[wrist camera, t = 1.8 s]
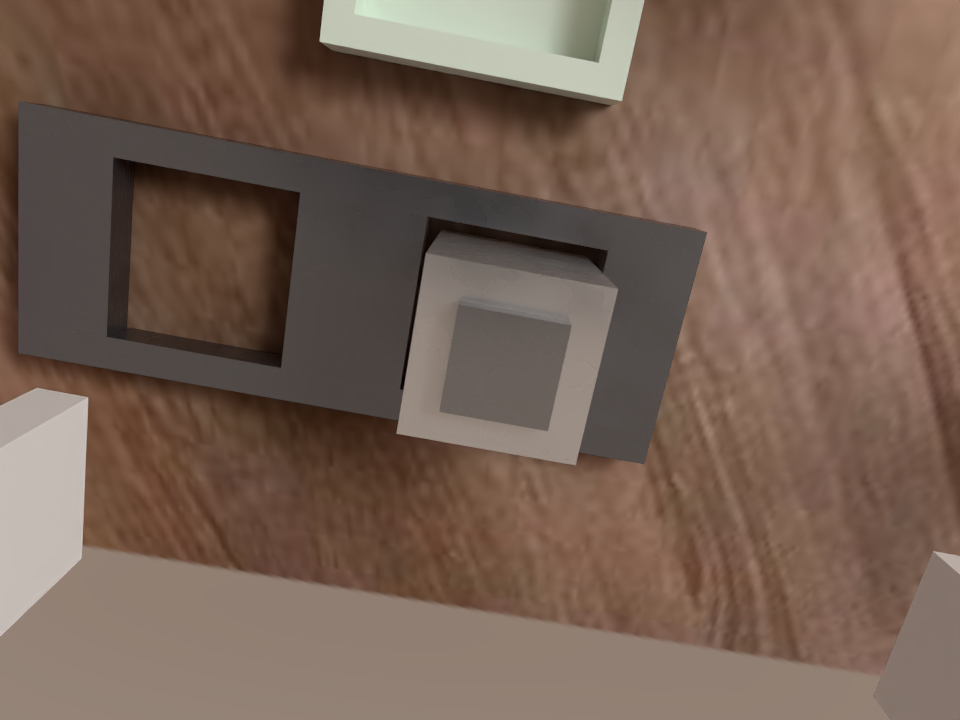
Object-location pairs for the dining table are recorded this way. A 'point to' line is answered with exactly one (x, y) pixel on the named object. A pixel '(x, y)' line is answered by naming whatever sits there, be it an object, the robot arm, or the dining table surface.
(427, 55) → the parts tray
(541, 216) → the grey double switch frame
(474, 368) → the square stepped knob
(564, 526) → the dining table surface
